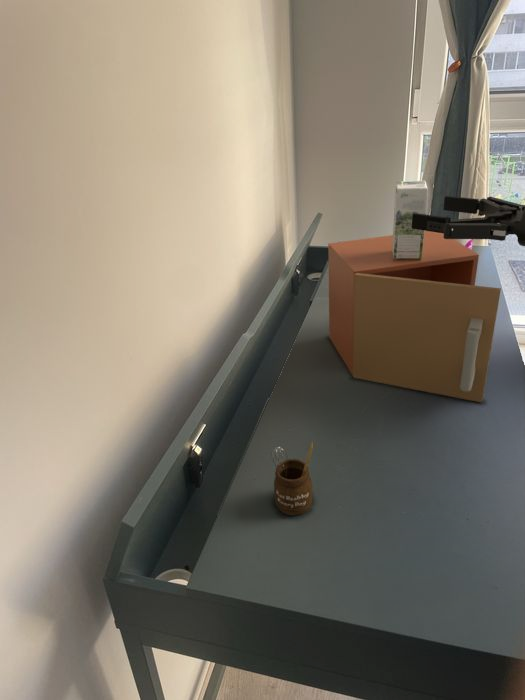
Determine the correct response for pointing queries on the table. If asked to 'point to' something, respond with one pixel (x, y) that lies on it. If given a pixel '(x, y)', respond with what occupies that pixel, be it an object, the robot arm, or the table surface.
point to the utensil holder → (293, 485)
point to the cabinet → (377, 259)
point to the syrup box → (408, 219)
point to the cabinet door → (424, 334)
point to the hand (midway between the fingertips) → (429, 211)
